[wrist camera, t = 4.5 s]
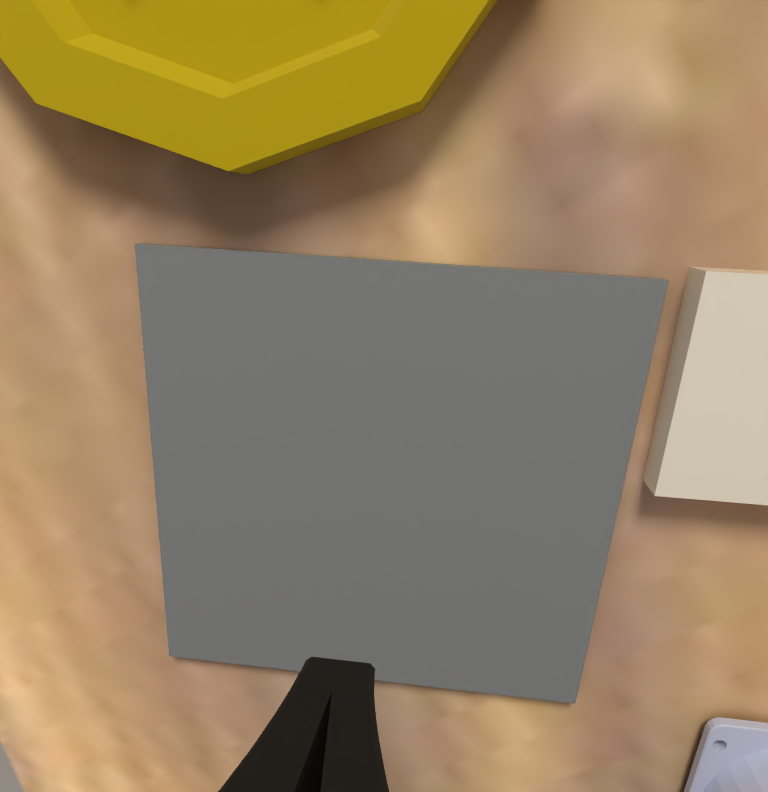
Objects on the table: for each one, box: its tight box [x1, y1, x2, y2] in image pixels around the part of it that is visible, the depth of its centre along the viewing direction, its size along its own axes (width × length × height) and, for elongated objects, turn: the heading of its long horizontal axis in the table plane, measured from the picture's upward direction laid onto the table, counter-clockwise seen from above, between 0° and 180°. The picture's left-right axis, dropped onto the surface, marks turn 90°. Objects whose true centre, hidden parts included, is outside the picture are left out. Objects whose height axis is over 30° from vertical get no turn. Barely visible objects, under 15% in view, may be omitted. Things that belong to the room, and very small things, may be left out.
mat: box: [135, 243, 668, 704], centre depth 20 cm, size 16×16×1 cm
